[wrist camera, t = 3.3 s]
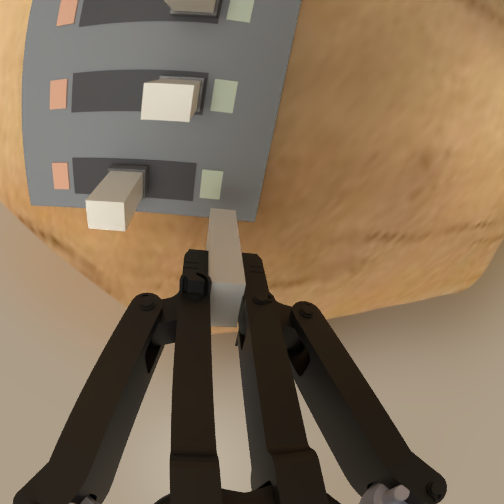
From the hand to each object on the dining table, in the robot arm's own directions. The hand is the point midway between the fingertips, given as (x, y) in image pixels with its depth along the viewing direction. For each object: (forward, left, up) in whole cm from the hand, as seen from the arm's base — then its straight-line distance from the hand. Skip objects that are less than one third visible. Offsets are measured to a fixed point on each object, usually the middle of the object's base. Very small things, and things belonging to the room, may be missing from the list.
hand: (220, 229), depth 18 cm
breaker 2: (-7, -4, -6) cm, 10 cm away
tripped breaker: (0, -7, -6) cm, 9 cm away
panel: (-7, -7, -7) cm, 13 cm away
